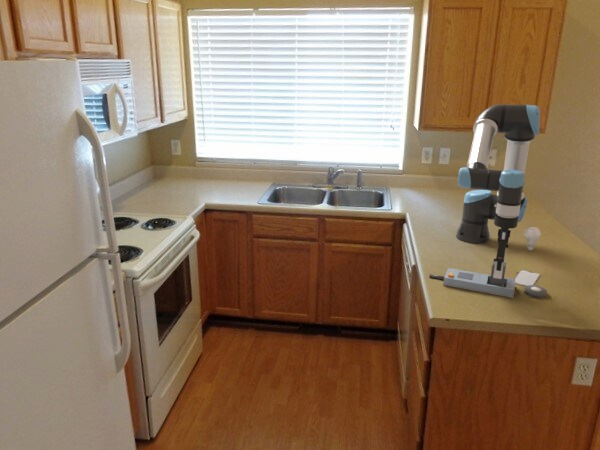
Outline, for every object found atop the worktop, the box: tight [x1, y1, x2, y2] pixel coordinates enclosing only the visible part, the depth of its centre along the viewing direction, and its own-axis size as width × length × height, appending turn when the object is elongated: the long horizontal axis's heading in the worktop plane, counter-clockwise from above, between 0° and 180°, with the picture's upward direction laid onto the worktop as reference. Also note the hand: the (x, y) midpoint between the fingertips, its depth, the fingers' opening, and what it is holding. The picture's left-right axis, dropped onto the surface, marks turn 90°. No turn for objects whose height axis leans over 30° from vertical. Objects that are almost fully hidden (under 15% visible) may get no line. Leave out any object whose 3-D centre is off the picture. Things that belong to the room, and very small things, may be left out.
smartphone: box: [513, 269, 541, 287], centre depth 179 cm, size 7×1×15 cm
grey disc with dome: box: [524, 284, 548, 299], centre depth 166 cm, size 7×7×2 cm
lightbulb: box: [524, 226, 542, 251], centre depth 206 cm, size 6×6×11 cm
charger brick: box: [489, 260, 507, 287], centre depth 168 cm, size 4×5×10 cm
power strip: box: [429, 267, 516, 299], centre depth 173 cm, size 10×30×4 cm, turn 64°
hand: (498, 270), depth 168 cm, fingers open, 13 cm apart
